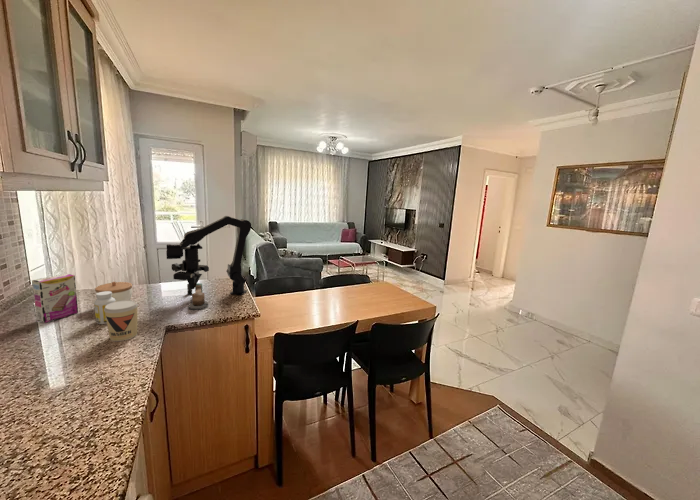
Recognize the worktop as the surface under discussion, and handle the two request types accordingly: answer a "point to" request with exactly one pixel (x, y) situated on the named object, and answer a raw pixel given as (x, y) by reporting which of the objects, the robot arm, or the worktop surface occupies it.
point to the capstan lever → (198, 295)
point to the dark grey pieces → (194, 307)
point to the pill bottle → (102, 305)
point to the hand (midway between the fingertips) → (192, 288)
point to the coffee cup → (121, 319)
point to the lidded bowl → (117, 290)
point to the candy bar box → (55, 297)
